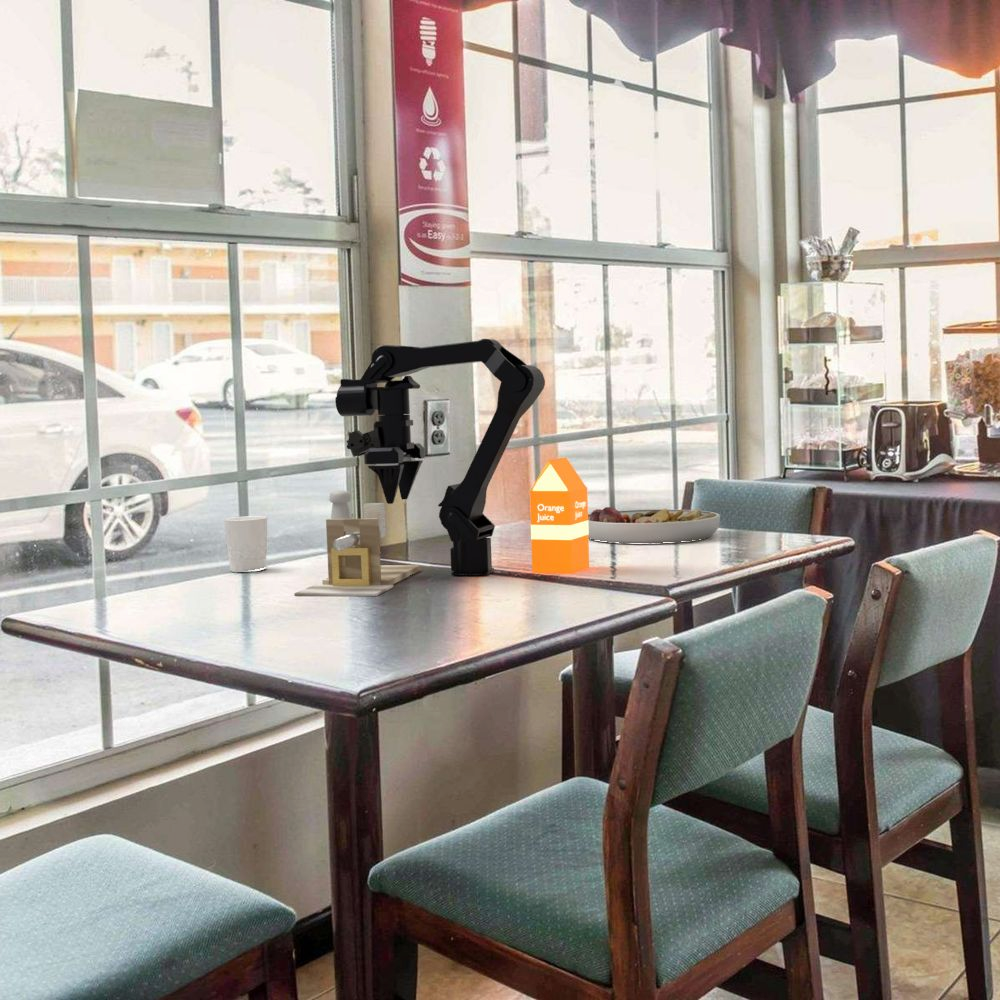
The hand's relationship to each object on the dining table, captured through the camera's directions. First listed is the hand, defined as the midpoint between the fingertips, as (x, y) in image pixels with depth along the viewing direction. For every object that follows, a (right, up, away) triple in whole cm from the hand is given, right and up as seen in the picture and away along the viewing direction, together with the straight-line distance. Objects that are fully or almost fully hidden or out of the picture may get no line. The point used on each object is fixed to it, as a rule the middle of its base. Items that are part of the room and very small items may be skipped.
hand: (397, 501), depth 233 cm
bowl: (+51, -8, +44) cm, 68 cm away
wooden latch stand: (-5, -14, -10) cm, 18 cm away
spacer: (-6, -14, -16) cm, 22 cm away
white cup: (-29, -13, +11) cm, 34 cm away
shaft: (-6, -7, -12) cm, 15 cm away
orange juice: (+30, -13, -2) cm, 32 cm away
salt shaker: (-14, -11, +33) cm, 37 cm away
